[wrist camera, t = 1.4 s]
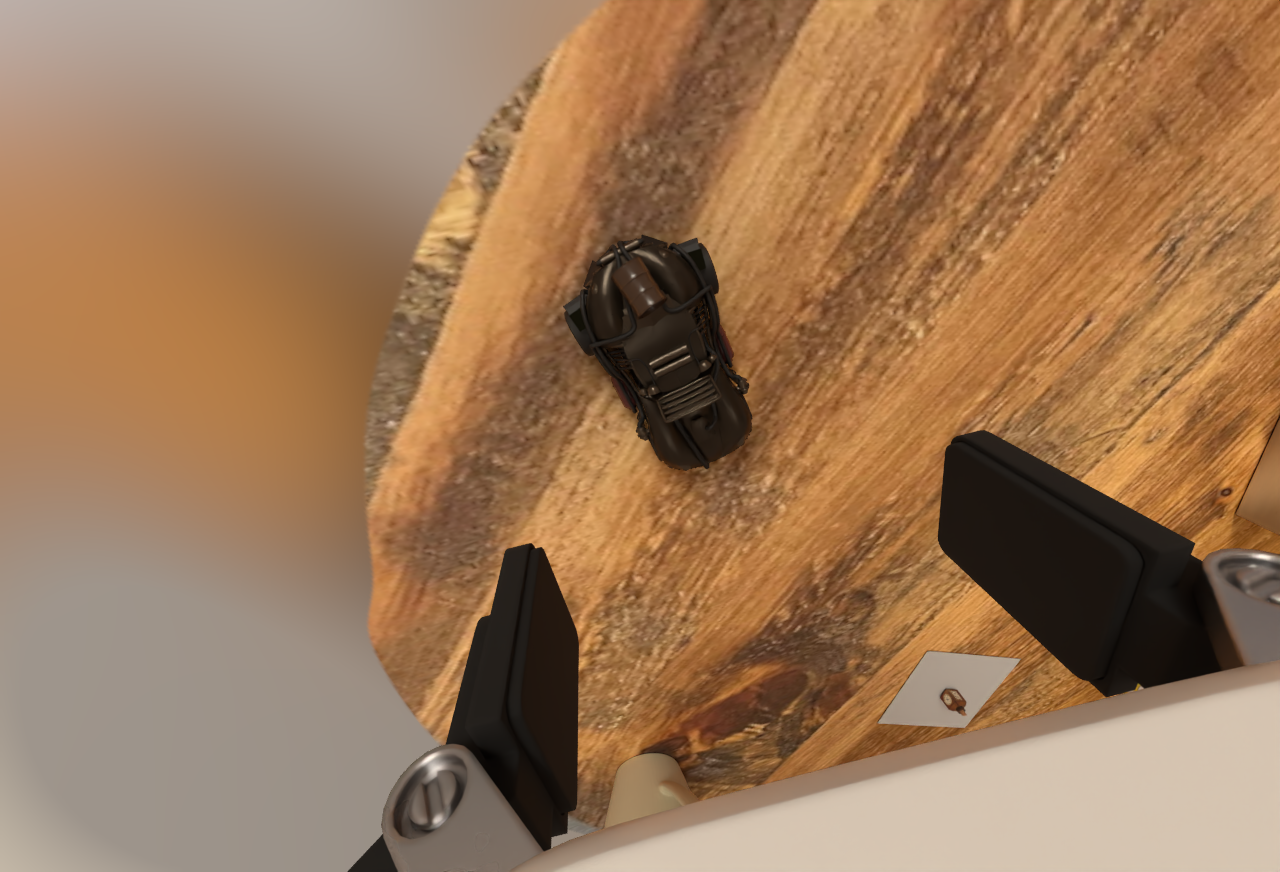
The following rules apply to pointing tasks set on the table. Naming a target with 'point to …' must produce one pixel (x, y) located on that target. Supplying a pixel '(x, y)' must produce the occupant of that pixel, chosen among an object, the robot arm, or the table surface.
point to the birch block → (1265, 489)
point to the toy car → (665, 347)
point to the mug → (647, 788)
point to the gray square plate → (947, 689)
